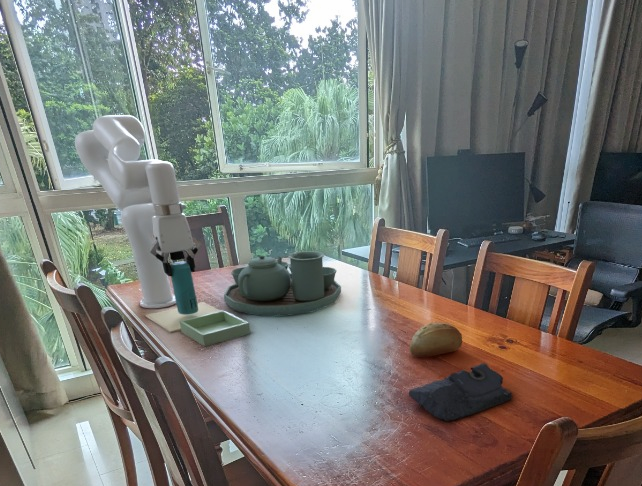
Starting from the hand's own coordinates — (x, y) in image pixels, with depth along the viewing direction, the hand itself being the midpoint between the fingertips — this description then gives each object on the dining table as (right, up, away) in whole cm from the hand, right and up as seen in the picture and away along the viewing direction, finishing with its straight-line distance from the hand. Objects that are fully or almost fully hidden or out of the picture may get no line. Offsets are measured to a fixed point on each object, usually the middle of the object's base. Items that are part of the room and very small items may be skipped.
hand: (180, 272), depth 155 cm
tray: (+12, -19, -4) cm, 23 cm away
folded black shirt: (+76, -41, -42) cm, 96 cm away
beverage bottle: (0, -12, +7) cm, 14 cm away
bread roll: (+75, -28, -21) cm, 83 cm away
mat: (0, -12, +8) cm, 14 cm away
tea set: (+28, -2, +23) cm, 36 cm away
